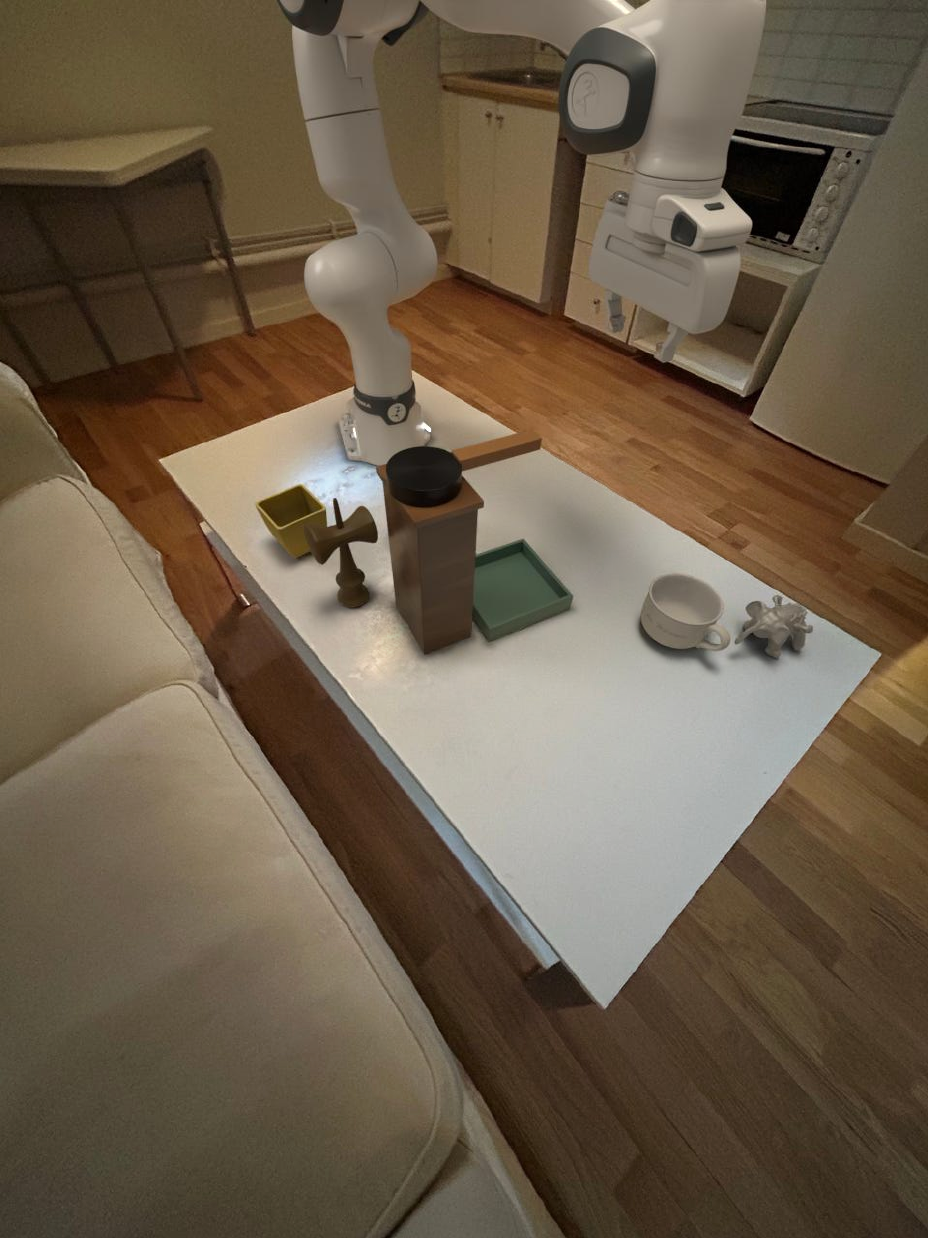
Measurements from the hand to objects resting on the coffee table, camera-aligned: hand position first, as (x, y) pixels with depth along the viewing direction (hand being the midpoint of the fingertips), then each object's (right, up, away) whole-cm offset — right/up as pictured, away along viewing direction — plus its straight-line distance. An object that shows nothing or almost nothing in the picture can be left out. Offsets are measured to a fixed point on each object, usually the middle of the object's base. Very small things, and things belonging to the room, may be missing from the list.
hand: (637, 344), depth 67 cm
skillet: (-21, -16, 0) cm, 26 cm away
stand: (-26, -34, +19) cm, 47 cm away
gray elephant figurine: (+25, -38, +17) cm, 49 cm away
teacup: (+12, -37, +18) cm, 43 cm away
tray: (-14, -30, +23) cm, 40 cm away
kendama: (-39, -31, +21) cm, 54 cm away
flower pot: (-50, -21, +29) cm, 62 cm away
